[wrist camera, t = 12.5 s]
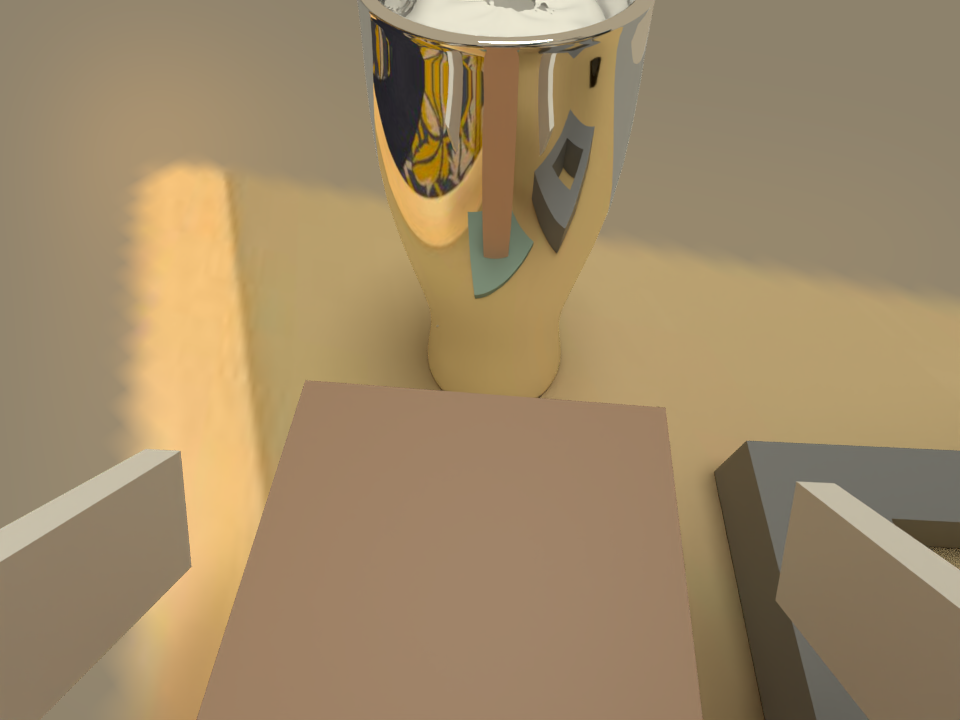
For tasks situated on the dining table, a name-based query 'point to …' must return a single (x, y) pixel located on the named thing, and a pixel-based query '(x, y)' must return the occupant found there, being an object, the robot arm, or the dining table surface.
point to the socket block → (762, 536)
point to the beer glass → (500, 164)
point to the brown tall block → (463, 565)
